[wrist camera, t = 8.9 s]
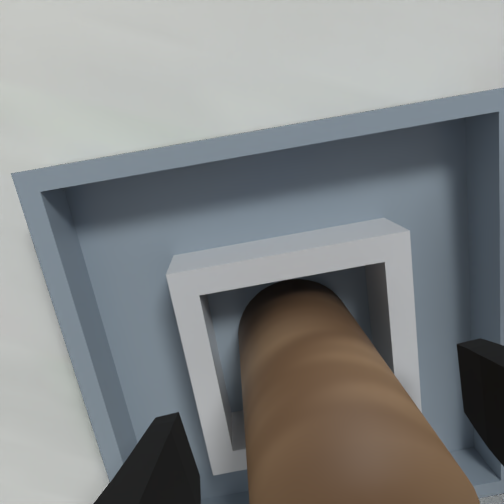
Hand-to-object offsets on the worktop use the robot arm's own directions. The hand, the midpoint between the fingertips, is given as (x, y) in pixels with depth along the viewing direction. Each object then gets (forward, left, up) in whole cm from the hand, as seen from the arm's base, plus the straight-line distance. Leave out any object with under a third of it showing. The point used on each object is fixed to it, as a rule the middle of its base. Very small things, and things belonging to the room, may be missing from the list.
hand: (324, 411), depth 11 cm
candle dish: (0, 0, -5) cm, 5 cm away
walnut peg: (0, 0, -5) cm, 4 cm away
